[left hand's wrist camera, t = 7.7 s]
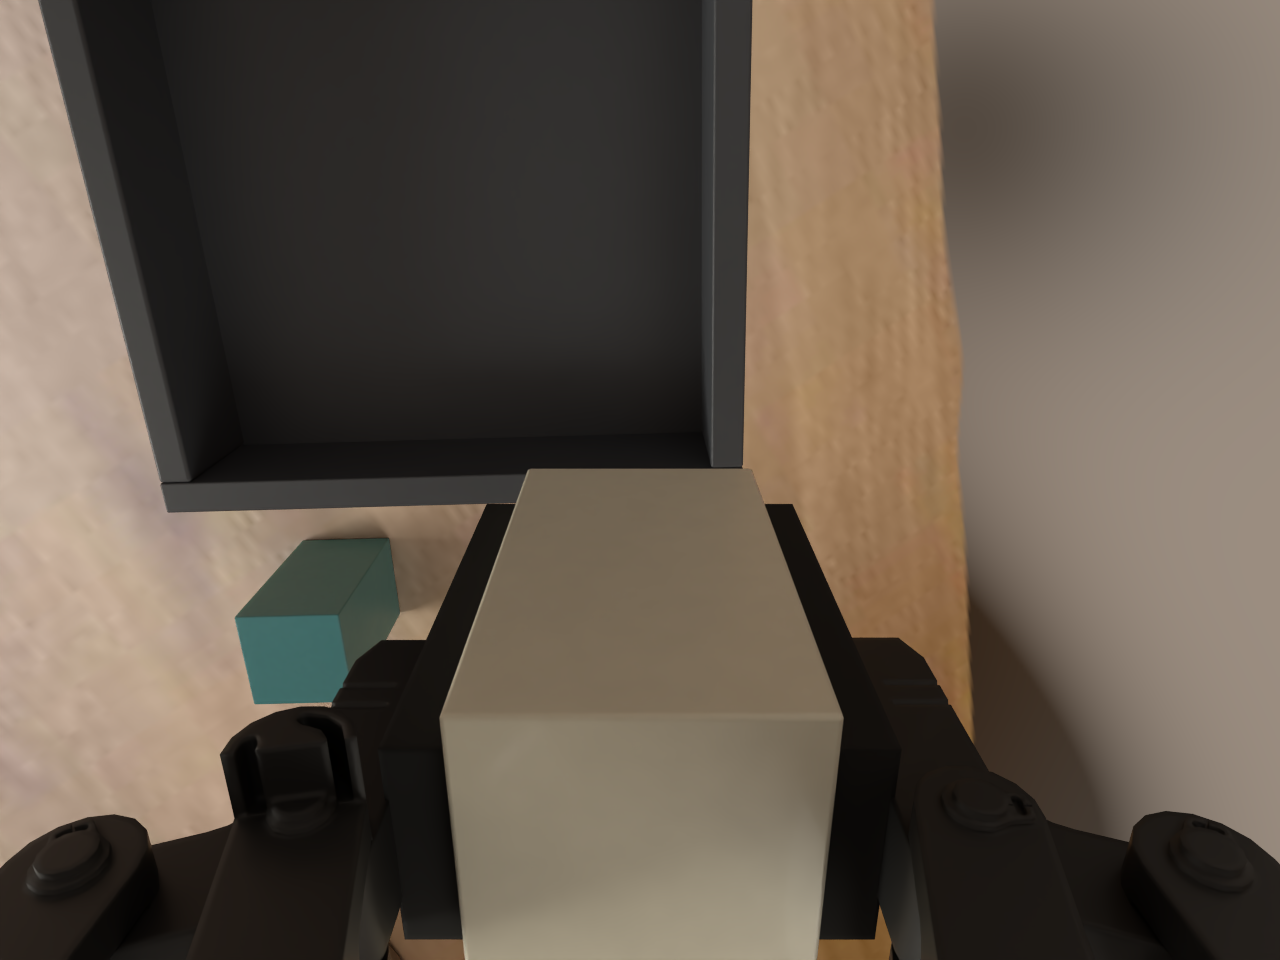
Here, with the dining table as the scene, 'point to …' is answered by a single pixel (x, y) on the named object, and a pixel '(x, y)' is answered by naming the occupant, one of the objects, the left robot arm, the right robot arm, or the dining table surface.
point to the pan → (417, 238)
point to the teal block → (317, 619)
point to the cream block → (641, 729)
